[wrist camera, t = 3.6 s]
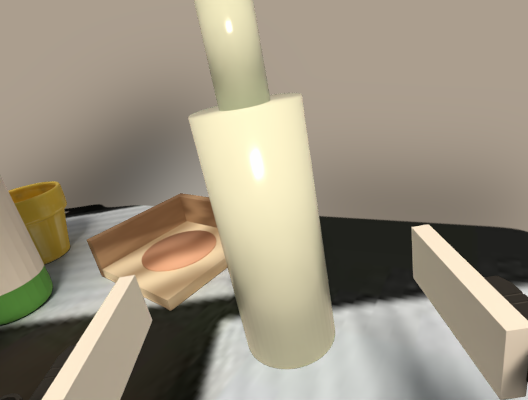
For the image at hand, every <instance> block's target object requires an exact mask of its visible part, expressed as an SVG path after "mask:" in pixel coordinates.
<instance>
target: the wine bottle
mask: <svg viewBox="0 0 528 400" xmlns="http://www.w3.org/2000/svg"><path fill="white" fill-rule="evenodd" d="M52 289H53V284H52V281H51V278H50V276H49V274H48V272H47V270H46V268H45V266H44V263H43V261H42V259H41V257H40V255H39V253H38V251H37V249H36V247H35V245H34V243H33V241H32V239H31V237H30V235H29V233H28V231H27V228H26V226H25V224H24V222H23V220H22V218H21V216H20V214H19V212H18V210H17V208H16V206H15V204H14V202H13V200H12V198H11V196H10V194H9V192H8V190H7V188H6V186H5V184H4V182H3V180H2V178H1V176H0V325H3V324H7V323H10V322H13V321H15V320H18V319H20V318H22V317H24V316H26V315H28V314H29V313H31V312H33V311H34V310H36V309H37V308H38V307H40V306H41V305H42V304H43V303H44V302H45V301H46V300H47V299H48V298H49V296H50V295H51V292H52Z"/></svg>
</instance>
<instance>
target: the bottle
mask: <svg viewBox="0 0 528 400" xmlns="http://www.w3.org/2000/svg"><path fill="white" fill-rule="evenodd" d="M194 3H195V7H196V12H197V16H198V21H199V25H200V29H201V34H202V38H203V42H204V47H205V51H206V56H207V60H208V64H209V69H210V73H211V77H212V82H213V86H214V90H215V95H216V99H217V103H218V106H215V107H211V108H208V109H205V110H201V111H199V112H196V113H194V114H191V115H190V116H189V117H188V118H189V122H190V126H191V130H192V133H193V138H194V141H195V145H196V149H197V153H198V157H199V160H200V164H201V168H202V172H203V175H204V179H205V183H206V187H207V191H208V194H209V198H210V202H211V206H212V210H213V213H214V217H215V221H216V225H217V229H218V232H219V236H220V240H221V244H222V248H223V251H224V255H225V259H226V263H227V267H228V270H229V274H230V278H231V282H232V286H233V289H234V293H235V297H236V301H237V304H238V308H239V312H240V316H241V320H242V323H243V327H244V331H245V335H246V339H247V342H248V346H249V349H250V351H251V353H252V355H253V356H254V357H255V358H256V359H257V360H258V361H259V362H261V363H263V364H264V365H267V366H269V367H273V368H277V369H295V368H300V367H304V366H307V365H309V364H312V363H313V362H315V361H317V360H319V359H320V358H321V357H323V356H324V355H325V354H326V353H327V352H328V350H329V349H330V348H331V346H332V344H333V342H334V338H335V326H334V319H333V312H332V305H331V298H330V291H329V284H328V277H327V270H326V263H325V256H324V249H323V242H322V235H321V228H320V221H319V213H318V206H317V200H316V192H315V185H314V178H313V171H312V165H311V158H310V151H309V143H308V136H307V129H306V123H305V115H304V109H303V101H302V95H301V94H300V93H284V94H275V95H269V89H268V83H267V77H266V72H265V66H264V61H263V55H262V49H261V43H260V37H259V32H258V26H257V20H256V14H255V10H254V3H253V0H194Z"/></svg>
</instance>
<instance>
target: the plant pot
mask: <svg viewBox="0 0 528 400" xmlns="http://www.w3.org/2000/svg"><path fill="white" fill-rule="evenodd" d="M8 192H9V194H10V196H11V198H12V200H13V202H14V204H15V206H16V208H17V210H18V212H19V214H20V216H21V218H22V220H23V222H24V224H25V226H26V228H27V231H28V233H29V235H30V237H31V239H32V241H33V243H34V245H35V247H36V249H37V251H38V253H39V255H40V257H41V259H42V261H43V263H44V264H47V263H49V262H52V261H54V260H56V259H58V258H59V257H61V256H63V255H64V254H65V253H66V252H67V251H68V250H69V249H70V243H69V237H68V231H67V225H66V219H65V213H64V208H65V207H66V205H67V202H66V199H65V196H64V193H63V191H62V188H61V186H60V184H59V183H58V182H54V181H53V182H52V181H51V182H42V183H37V184H31V185H27V186H23V187H20V188H16V189H12V190H9V191H8Z"/></svg>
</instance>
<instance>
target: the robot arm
mask: <svg viewBox="0 0 528 400" xmlns="http://www.w3.org/2000/svg"><path fill="white" fill-rule="evenodd" d="M412 255H413V278H414V279H415V281H416V282H417V283H418V285H419V286H420V288H421V289H422V290H423V292H424V293H425V295H426V296H427V297H428V299H429V300H430V302H431V303H432V304H433V306H434V307H435V309H436V310H437V312H438V313H439V314H440V316H441V317H442V319H443V320H444V321H445V323H446V324H447V326H448V327H449V328H450V330H451V331H452V333H453V334H454V335H455V337H456V338H457V340H458V341H459V342H460V344H461V345H462V347H463V348H464V349H465V351H466V352H467V354H468V355H469V356H470V358H471V359H472V361H473V362H474V364H475V365H476V366H477V368H478V369H479V371H480V372H481V373H482V375H483V376H484V378H485V379H486V380H487V382H488V383H489V385H490V386H491V387H492V389H493V390H494V392H495V393H496V394H497V396H498V397H499V399H500V400H505V399H512V398H518V397H525V396H526V390H527V382H528V297H527V296H526V295H525V294H523V293H522V291H520V290H519V289H518V288H517V287H516V286H515V285H514V284H513V283H511V282H509V281H507V280H505V279H503V278H501V277H499V276H492V277H486V278H483V277H482V276H481V275H480V274H479V273H478V272H477V271H476V270H475V269H474V268H473V267H472V266H471V265H470V264H469V263H468V262H467V261H466V260H465V259H464V258H463V257H462V256H461V255H459V254H458V253H457V252H456V251H455V250H454V249H453V248H452V247H451V246H450V245H449V244H448V243H447V242H446V241H445V240H444V239H443V238H442V237H441V236H440V235H439V234H438V233H437V232H436V231H435V230H434V229H433V228H432V227H431V226H430V225H429V224H428V225H422V226H416V227H412ZM151 322H152V318H151V316H150V313H149V310H148V308H147V305H146V303H145V300H144V297H143V295H142V292H141V289H140V287H139V284H138V282H137V279H136V276H135V275H131V276H125V277H119V279H118V281H117V282H116V284H115V285H114V287H113V288H112V290H111V292H110V293H109V295H108V296H107V298H106V299H105V301H104V303H103V304H102V306H101V307H100V309H99V310H98V312H97V313H96V315H95V317H94V318H93V320H92V321H91V323H90V324H89V326H88V328H87V329H86V331H85V332H84V334H83V335H82V337H81V339H80V340H79V342H78V343H77V345H71V346H69V347H68V348H67V349H66V350H65V351H64V352H62V353H61V354H60V355H59V356H58V357H57V359H56V360H55V362H54V363H53V365H52V366H51V368H50V370H49V371H48V372H47V374H46V375H45V377H44V380H42V381H41V383H40V384H39V386H38V387H37V389H36V390H35V392H34V393H33V395H32V396H31V398H30V399H29V400H120V398H121V396H122V393H123V391H124V389H125V386H126V384H127V381H128V379H129V376H130V374H131V371H132V369H133V366H134V364H135V361H136V359H137V357H138V354H139V352H140V349H141V347H142V344H143V342H144V339H145V337H146V334H147V332H148V329H149V327H150V325H151ZM0 400H23V399H22V397H21V396H20V395H19V394H14V393H12V394H8V395H4V396H2V397H0Z"/></svg>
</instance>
